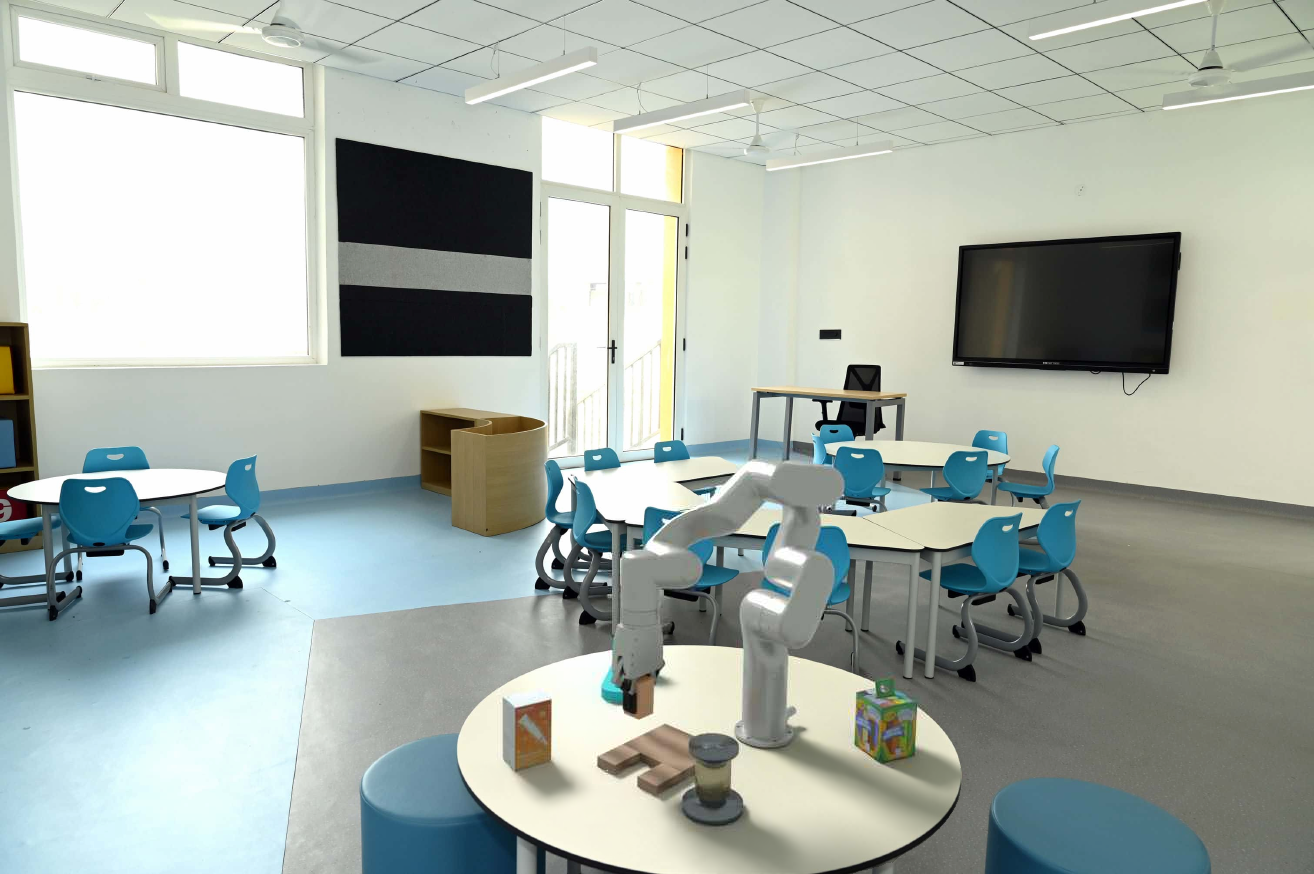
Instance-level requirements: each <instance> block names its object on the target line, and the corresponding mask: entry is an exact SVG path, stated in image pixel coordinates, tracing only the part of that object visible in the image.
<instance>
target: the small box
mask: <svg viewBox="0 0 1314 874" xmlns="http://www.w3.org/2000/svg"><path fill="white" fill-rule="evenodd" d="M552 701H553V700H552V698H551V696H548V695H547V694H546V693H545V692H544V691H542V690H541V689H540V688H535V689H531V690H527V691H526V690H525V691H521V692H517V693H514V694H510V695H506V696H502V759H503V760H504V761H505V762H506V763H507V764H508V765H509V767H511V768H512V769H513V770H514V771H518V770H522V769H526V768H530V767H533V766H535V765H540V764H543V763H547V762H551V761H552V722H553V721H552V714H553V713H552V712H553V710H552V705H553V704H552V703H553V702H552Z"/></svg>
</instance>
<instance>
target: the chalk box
mask: <svg viewBox="0 0 1314 874" xmlns="http://www.w3.org/2000/svg"><path fill="white" fill-rule="evenodd" d="M874 685H875V688H870V689H864V690H860V691H856V692H855V696H856V697H855V715H854V716H855V721H854V723H855V724H854V741H853V744H854V745H855V746H856V747H858V748H859V749H861V750H862V751H864V752H865V753H867V754H868V755H869V756H871V757H872V758H873V759H875V760H877V762H879V763H885V762H889V761H893V760H898V759H903V758H907V757H913V756H915V755H916V739H917V738H916V737H917V735H916V734H917V721H918V720H917V719H918V718H917V716H918V702H916V701H915V700H914V699H911V698H910V697H908V696H907V695H906V694H905V693H903V692H901V691H898V690H896V689H895V686H894V685H895V684H894V679H893V678H891V677H889V678H884V679H879V680H875V682H874ZM884 685H886V686H884ZM882 686H883V687H882Z"/></svg>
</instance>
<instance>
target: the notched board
mask: <svg viewBox="0 0 1314 874" xmlns="http://www.w3.org/2000/svg"><path fill="white" fill-rule="evenodd" d="M694 736H695V735H693V734H691V733H688V732H685V731H684V730H681V729H679V728H676V727H674V726H672V725H669V724H667V723H663V724H661V725H660V726H658V727H655V728H653V729H651V730H649V731H647V732H645V733H643V734H641V735H639V736H636V737H635V738H633V739H630V740H629V741H627V742H624V743H622V744H620V745H618V746H616V747H613V748H611V749H610V750H608V751H606V752H603V753H601V754H600V755H597V757H596V758H597V759H596V760H597V761H596V762H597V763H596V765H597V767H598V766H599V767H598V768H600V767H602V768H603V769H602V768H601V769H602V770H604V769H605V770H604V771H606V770H608V771H609V772H608V771H607V772H608V773H610V772H611V774H612V775H614V776H616V775H618V774H620V773H622V772H624V771H626V770H628V769H630V768H631V766H632V767H634V766H635V765H637V764H639V763H641V762H642V763H641V764H643V765H645V764H646V765H645V766H647V765H648V766H647V767H649V766H650V767H649V768H650V769H648V770H647V771H644V772H643V773H641V774H639V775H637V777H636V779H637V780H636V781H637V783H636V787H637V788H640V789H641V790H644V791H646V792H647V793H650V794H651V795H654V796H655V797H658V796H659V794H660V795H661V794H663V793H665V792H667V791H669V790H670V789H672V788H673V786H674V787H676V786H677V785H679V784H680V782H681V783H682V782H684V781H686V780H688V779H689V778H691V777H692V776H694V774H695V764H696V758H695V757H693V756H692V755H691V754H690V753H689V749H688V748H689V741H690V739H691V738H693V737H694ZM629 767H630V768H629ZM651 767H652V768H651ZM627 768H628V769H627ZM625 769H626V770H625ZM623 770H624V771H623ZM666 790H667V791H666Z"/></svg>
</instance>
